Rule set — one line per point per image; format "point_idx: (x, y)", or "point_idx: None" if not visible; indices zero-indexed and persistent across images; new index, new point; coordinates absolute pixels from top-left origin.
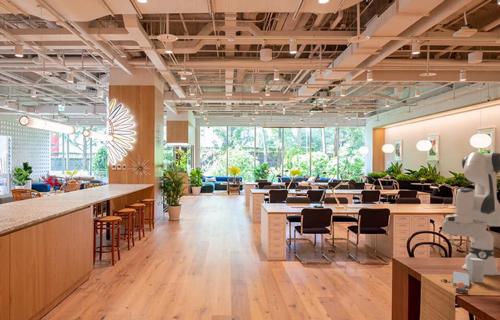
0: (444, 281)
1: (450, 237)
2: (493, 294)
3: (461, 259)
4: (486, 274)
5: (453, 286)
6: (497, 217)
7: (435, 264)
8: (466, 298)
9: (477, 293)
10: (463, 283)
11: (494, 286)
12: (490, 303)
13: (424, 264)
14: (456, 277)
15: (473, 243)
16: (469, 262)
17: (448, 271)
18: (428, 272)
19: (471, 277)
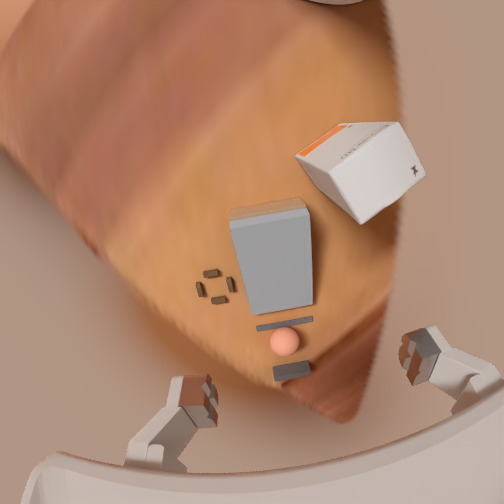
0: (215, 302)
1: (172, 453)
2: (384, 297)
3: None
4: (355, 1)
5: (257, 328)
6: None
7: (106, 9)
8: (304, 390)
9: (336, 331)
10: (295, 349)
11: None
12: (360, 377)
13: (65, 64)
14: (257, 277)
15: (423, 375)
16: (326, 181)
17: (181, 73)
18: (114, 199)
19: (318, 186)
